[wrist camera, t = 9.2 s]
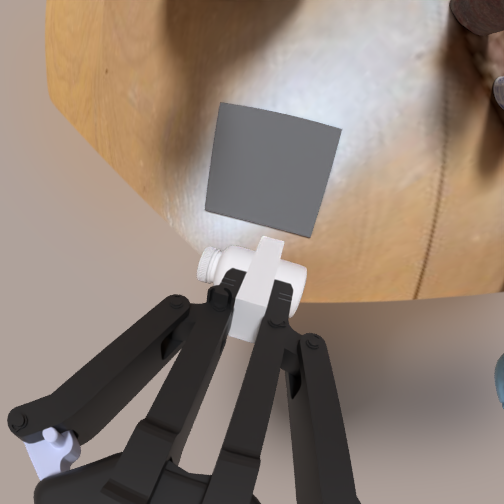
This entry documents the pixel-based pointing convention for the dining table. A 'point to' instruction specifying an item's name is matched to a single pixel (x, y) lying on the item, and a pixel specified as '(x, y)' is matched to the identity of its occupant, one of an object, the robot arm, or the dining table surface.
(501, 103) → the energy drink
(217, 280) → the pill bottle
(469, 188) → the dining table surface
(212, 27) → the dining table surface
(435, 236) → the dining table surface
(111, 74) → the dining table surface
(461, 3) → the candle
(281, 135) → the mat
